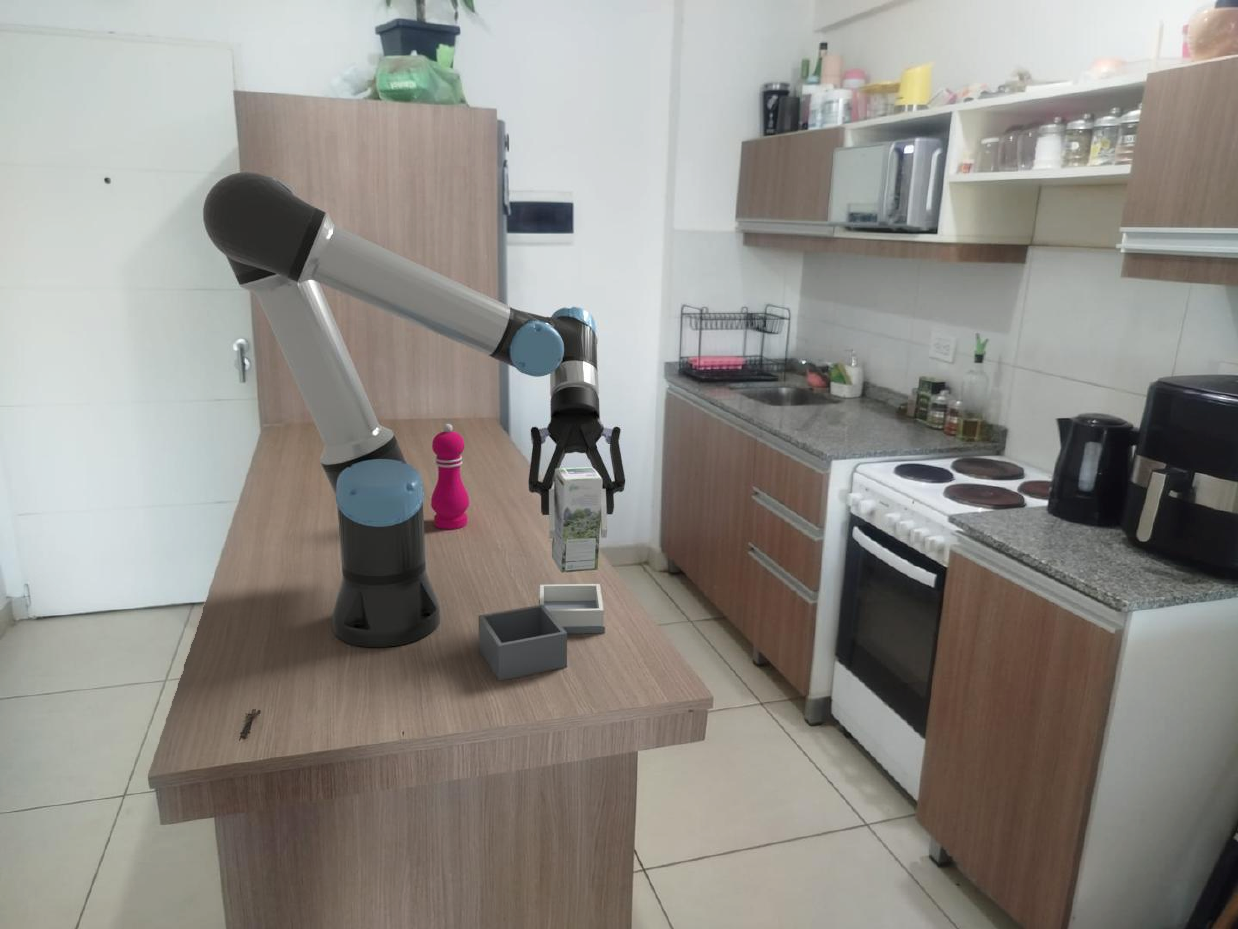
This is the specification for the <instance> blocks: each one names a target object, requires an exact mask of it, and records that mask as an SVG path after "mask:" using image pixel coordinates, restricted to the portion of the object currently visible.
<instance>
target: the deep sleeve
mask: <svg viewBox="0 0 1238 929" xmlns="http://www.w3.org/2000/svg"><path fill="white" fill-rule="evenodd" d="M478 646H479V647H478V648H479V651H480V652H481V653H482V655H483V657H484V658H485V660H486V662H487V663H488V665H489V666H490V668H491V670H492V671H493V673H494V675H495V676H496V678H497V679H498V681H500V682H501V681H504V680H509V679H514V678H519V677H524V676H529V675H533V674H539V673H544V672H549V671H553V670H558V669H564V668H567V667H568V633H567V632H566V631H565V630H564V629H563V628H562V626H561V625H560V624H559V623H558V622H557V621H556V619H555V618H554V617H553V616H552V615H551V613H550V612H549V611H548V610H547V609H546V608H545V606H544V605H539V604H538V605H531V606H526V607H520V608H515V609H508V610H504V611H497V612H492V613H486V614H485V613H484V614H480V615H478Z"/></svg>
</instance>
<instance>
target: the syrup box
mask: <svg viewBox="0 0 1238 929" xmlns="http://www.w3.org/2000/svg"><path fill="white" fill-rule="evenodd" d="M602 483H603V480H602V478H601V477H600V475H599V474H598V472H597V471H596V470H595V469H594V468H593V467H592V466H579V467H578V466H577V467H560V468H556V469H555V478H554V483H553V486H554V488H553V489H554V514H555V538H552V541H551V542H552V544H551V545H552V547H551V558H552V560H553V562H554V563H555V565H556V567H557V568H558V570H559V571H560V572H561V573H574V572H586V571H597V570H598V569H599V555H600V538H601V522H600V520H601V502H602Z"/></svg>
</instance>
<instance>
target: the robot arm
mask: <svg viewBox="0 0 1238 929" xmlns="http://www.w3.org/2000/svg"><path fill="white" fill-rule="evenodd" d="M202 216H203V217H202V218H203V219H202V220H203V225H204V229H205V231H206V233H207V236H208V238H209V239H210V241H211V242H212V244H213V245H214V246H215V247H216V248H217V250H219V251H220V252H221V253H222V254H223V255H224V256H225V257H226V259H227V261H228V263H229V266H230V268H231V270H232V271H233V274H234V276H235V278H236V281H237V283H238V285H239V287H240V288H242V289H244V290H247V291H249V292H251V293H253V294H254V295H256V297H257V300H258V302H259V304H260V305H261V309H262V311H263V312H264V315H265V317H266V319H267V322H268V324H269V326H270V328H271V331H272V333H273V334H274V337H275V339H276V342H277V343H278V346H279V348H280V350H281V353H282V354H283V356H284V359H285V361H286V363H287V366H288V367H289V370H290V372H291V375H292V376H293V378H294V381H295V383H296V385H297V388H298V390H299V392H300V394H301V397H302V399H303V401H304V403H305V406H306V408H307V409H308V412H309V414H310V416H311V418H312V420H313V422H314V425H315V427H316V430H317V432H318V434H319V436H320V438H321V440H322V443H323V445H324V447H323V450H322V452H321V455H320V457H319V462H320V463H321V466H322V468H323V470H324V471H323V472H325V474H326V476H327V479H328V482H329V484H330V486H331V488H332V490H333V492H334V494H335V502H336V505H337V516H338V519H337V520H338V532H339V543H340V545H339V546H340V559H341V569H342V570H341V571H342V572H341V574H342V580H341V583H340V586H339V590H338V593H337V598H336V601H335V603H334V608H333V611H332V629H333V632H334V634H335V636H336V637H337V638H338V639H339V640H341V641H343V642H345V643H347V644H350V645H354V646H357V647H358V646H359V647H363V648H365V647H366V648H388V647H394V646H400V645H404V644H409V643H412V642H415V641H418V640H420V639H423V638H424V637H427V636H428V635H429V634H431V633H432V632H434V631H435V630H436V629H437V628H438V626H439V624H440V622H441V611H440V608H441V607H440V603H439V599H438V597H437V595H436V592H435V589H434V588H433V587H434V586H433V585H432V583H431V580H430V578H429V576H428V573H427V566H426V563H427V562H426V542H425V541H426V540H425V520H424V518H425V517H424V498H425V488H424V486H423V482H422V481H423V480H422V476H421V474H420V472H419V470H417V468H416V467H414V466H413V465H411V464H409V463H408V461H407V460H406V459H405V457H404V454H403V451H402V449H401V447H400V445H399V443H398V440H397V439H396V435H395V433H394V432H393V430H392V429H390V428H387V427H385V426H384V425H381V424H379V423H380V422H379V421H378V419H377V417H376V413H375V412H374V410H373V407H372V405H371V403H370V400H369V397H368V395H367V393H366V391H365V389H364V385H363V383H362V381H361V379H360V377H359V375H358V371H357V369H356V367H355V365H354V362H353V360H352V358H351V355H350V353H349V351H348V347H347V345H346V343H345V340H344V339H343V336H342V334H341V331H340V329H339V326H338V324H337V322H336V320H335V317H334V314H333V312H332V310H331V308H330V306H329V303H328V300H327V298H326V296H325V294H324V291H323V289H322V286H321V285H323V286H325V287H328V288H330V289H332V290H335V291H337V292H340V293H342V294H344V295H347V296H348V297H351V298H354V299H356V300H358V301H361V302H363V303H365V304H368V305H369V306H372V307H374V308H377V309H379V310H381V311H384V312H386V313H389V314H391V315H393V316H395V317H398V318H401V319H403V320H404V321H408V322H410V323H412V324H414V325H416V326H419V327H421V328H423V329H426V330H428V331H431V332H433V333H436V334H438V335H440V336H442V337H444V338H447V339H449V340H452V341H455V342H456V343H458V344H461V345H463V346H466V347H468V348H470V349H472V350H475V351H477V352H479V353H482V354H484V355H487V356H488V357H491V358H493V359H495V360H497V361H499V362H501V363H504V364H506V365H508V366H511V367H512V368H513V367H514V368H515V369H516V370H517V371H518V372H520V373H521V374H523V375H528V376H529V377H530V376H531V377H537V378H538V377H545V376H547V375H549V384H550V385H549V388H550V389H549V390H550V392H549V394H550V401H549V402H550V407H549V408H550V421H549V423H548V425H547V427H543V428H538V427H537V426H532V427H531V428H530V441H531V443H532V448H531V458H530V464H529V465H530V466H529V467H530V468H529V474H528V491H529V492H530V493H537V494H539V495H540V513H541V515H542V516H548V519H549V520H548V521H549V522H548V526H549V527H548V530H549V532H548V533H549V534H548V536H549V539H553V538H555V514H554V488H552V487H553V486H554V478H555V469H556V468H561V465H562V462H563V460H564V459H565V456H566V454H573V453H579V454H585V455H586V458H587V459H588V461H589V462H590V464H591V467H592V468H594V469H595V470H596V471H597V472H598V474H599V475H600V477H601V478H602V480H603V483H602V502H601V520H600V538H602V539H604V538H607V537H608V536H607V535H608V515H613V514H614V509H615V498H614V496H615V495H614V494H616V493H623V492H624V491H625V488H626V487H625V485H626V476H625V470H624V465H623V460H622V454H621V448H620V438H621V431H622V429H621V428H620V427H619V426H614V427H613V428H608V427H604V424H603V423H602V422H601V416H600V415H601V413H600V412H601V411H600V398H599V393H600V389H599V373H598V336H597V335H598V334H597V327H596V321H595V319H594V317H593V315H592V314H591V313H590V312H589V311H587V310H586V309H585V308H581V307H577V306H572V307H570V308H568V307H562V308H559V309H557V310H555V311H554V312H553V313H552V315H551V316H550V317H549V316H544V315H539V314H535V313H531V312H528V311H527V312H526V311H524V310H518V309H515V308H513V307H510V306H509V305H508V304H505V303H503V302H500V301H499V300H497V299H494V298H492V297H490V296H488V295H486V294H484V293H481V292H479V291H478V290H475V289H473V288H471V287H469V286H467V285H464V284H462V283H460V282H458V281H455V280H454V279H451V278H449V277H447V276H445V275H443V274H441V273H438V272H436V271H434V270H432V269H430V268H427V267H425V266H423V265H422V264H419V263H417V262H415V261H412V260H410V259H408V258H406V257H404V256H401V255H399V254H397V253H395V252H393V251H391V250H389V249H387V248H384V247H383V246H380V245H377V244H376V243H374V242H372V241H370V240H367V239H365V238H363V237H361V236H359V235H357V234H354V233H353V232H350V231H348V230H345V229H343V228H342V227H339V226H337V225H335V224H334V223H333V221H332V219H331V217H330V214H329V213H328V212H326V211H323V210H322V209H319V208H317V207H315V206H314V205H312V204H310V203H308V202H306V201H304V200H302V199H301V198H300V197H298V196H296V195H295V194H294V193H293V192H292V190H290V189H289V188H288V186H286V185H285V184H284V183H282V182H281V181H280V180H277V179H276V178H274V177H271V176H269V175H266V174H262V173H258V172H252V171H251V172H249V171H247V172H236V173H231V174H229V175H227V176H225V177H223V178H221V179H220V180H218V182H216V183H214V185H213V186H212V187H211V188H210V190H209V191H208V193H207V195H206V197H205V201H204V203H203V209H202ZM547 437H549V438H550V439H551V440H552V441H553V443H554V444H555V449H554V451H553V453H552V456H551V459H550V461H549V464H548V467H547V469H546V472H545V474H544V476H543V479H542V481H540V480H539V476H540V468H541V467H540V466H541V459H542V445H543V444H544V443H546V440H547ZM602 437H604V439H605V442H606V443H607V444H609V455H610V461H611V466H612V472H613V478H614V480H613V481H612V479H611V476H610V474H609V472H608V469H607V467H606V464H605V463H604V461H603V458H602V456H601V454H600V452H599V449H598V446H597V443H598V441H599V440H600V439H601V438H602Z"/></svg>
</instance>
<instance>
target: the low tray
mask: <svg viewBox="0 0 1238 929" xmlns="http://www.w3.org/2000/svg"><path fill="white" fill-rule="evenodd" d="M538 605H544V606H545V608H546V609H547V610H548V611H549V612H550V613H551V615H552V616H553V617H554V618H555V619H556V621H557V622H558V623H559V624H560V625H561V626H562V628H563V629H564V630H565V631H566V632H567V634H605V632H606V631H605V630H606V625H605V624H606V623H605V619H604V618H605V616H604V614H605V613H604V612H605V610H604V603H603V596H602V589H601V584H600V583H577V584H576V583H571V584H569V583H567V584H566V583H565V584H559V583H558V584H539V599H538Z"/></svg>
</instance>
